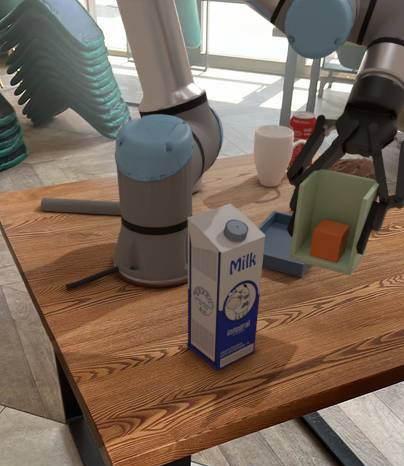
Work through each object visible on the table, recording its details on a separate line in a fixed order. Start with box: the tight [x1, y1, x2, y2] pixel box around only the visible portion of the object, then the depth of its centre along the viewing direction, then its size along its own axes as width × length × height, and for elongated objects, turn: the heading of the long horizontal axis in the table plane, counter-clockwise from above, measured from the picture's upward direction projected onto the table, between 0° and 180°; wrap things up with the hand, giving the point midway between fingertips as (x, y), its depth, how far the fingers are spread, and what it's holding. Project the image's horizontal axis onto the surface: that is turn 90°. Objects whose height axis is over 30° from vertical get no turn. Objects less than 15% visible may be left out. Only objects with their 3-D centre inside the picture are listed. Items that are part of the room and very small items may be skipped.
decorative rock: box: [328, 157, 376, 180], centre depth 117 cm, size 13×11×10 cm
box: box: [290, 169, 379, 276], centre depth 79 cm, size 7×9×11 cm
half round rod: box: [40, 197, 121, 216], centre depth 116 cm, size 4×20×2 cm, turn 85°
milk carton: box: [187, 203, 266, 372], centre depth 75 cm, size 7×7×20 cm
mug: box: [253, 124, 306, 188], centre depth 125 cm, size 12×8×11 cm
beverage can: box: [287, 110, 317, 170], centre depth 133 cm, size 6×6×12 cm
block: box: [310, 219, 350, 262], centre depth 80 cm, size 4×4×4 cm
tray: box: [256, 210, 312, 278], centre depth 104 cm, size 17×12×2 cm
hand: (324, 241), depth 78 cm, fingers closed on box, 9 cm apart
